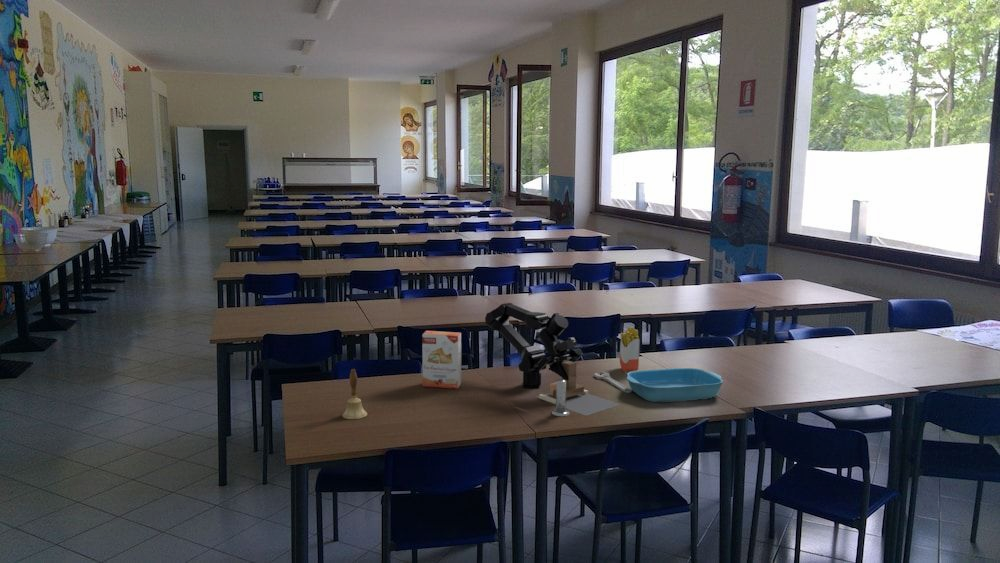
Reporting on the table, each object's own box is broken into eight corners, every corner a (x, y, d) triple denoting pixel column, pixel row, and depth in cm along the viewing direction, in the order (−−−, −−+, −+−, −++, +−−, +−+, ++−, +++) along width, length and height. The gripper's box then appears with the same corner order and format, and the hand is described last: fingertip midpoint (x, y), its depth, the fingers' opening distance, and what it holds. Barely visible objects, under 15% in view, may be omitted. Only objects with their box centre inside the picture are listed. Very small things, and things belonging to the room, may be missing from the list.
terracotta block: (550, 394, 267) (550, 383, 267) (559, 391, 271) (559, 381, 270) (559, 397, 264) (559, 387, 263) (569, 394, 267) (569, 384, 266)
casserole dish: (701, 382, 286) (702, 364, 285) (734, 400, 265) (735, 381, 263) (615, 389, 276) (615, 371, 275) (641, 408, 255) (642, 388, 254)
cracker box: (422, 387, 276) (421, 333, 273) (426, 382, 282) (425, 329, 278) (457, 389, 274) (457, 335, 270) (461, 384, 279) (461, 331, 276)
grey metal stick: (551, 417, 245) (552, 382, 243) (552, 411, 251) (552, 377, 249) (569, 417, 244) (570, 383, 242) (569, 411, 250) (570, 378, 248)
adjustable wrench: (632, 394, 271) (633, 389, 271) (616, 395, 269) (617, 391, 269) (606, 374, 295) (606, 370, 294) (591, 376, 293) (591, 371, 293)
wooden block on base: (552, 396, 261) (553, 364, 259) (576, 390, 269) (576, 358, 267) (560, 399, 258) (561, 366, 256) (584, 392, 266) (584, 361, 264)
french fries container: (627, 375, 294) (629, 331, 291) (618, 367, 304) (620, 325, 301) (638, 374, 294) (640, 331, 291) (628, 367, 305) (630, 325, 302)
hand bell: (338, 418, 242) (337, 372, 239) (347, 410, 250) (346, 365, 247) (362, 420, 241) (361, 373, 238) (370, 411, 249) (369, 366, 246)
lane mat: (535, 398, 264) (535, 394, 264) (570, 388, 276) (570, 384, 275) (585, 416, 245) (586, 412, 245) (620, 405, 257) (621, 401, 256)
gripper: (543, 334, 257) (565, 371, 250) (580, 327, 269) (601, 362, 262) (528, 351, 264) (548, 388, 258) (564, 343, 276) (585, 378, 269)
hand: (571, 378), depth 262 cm, fingers closed on wooden block on base, 4 cm apart
